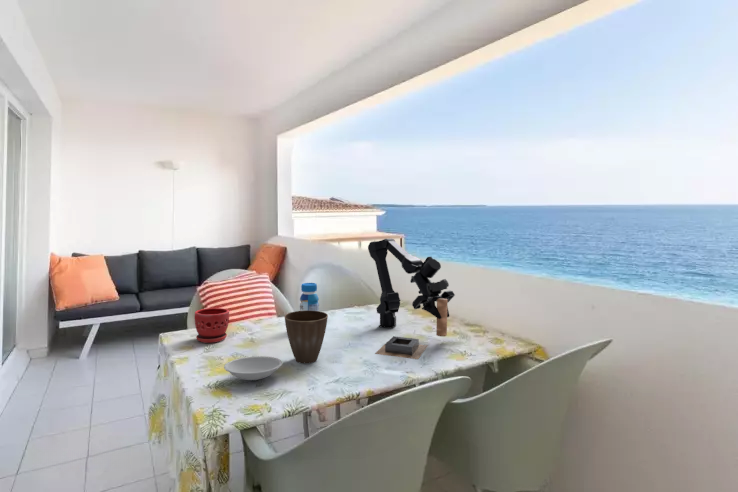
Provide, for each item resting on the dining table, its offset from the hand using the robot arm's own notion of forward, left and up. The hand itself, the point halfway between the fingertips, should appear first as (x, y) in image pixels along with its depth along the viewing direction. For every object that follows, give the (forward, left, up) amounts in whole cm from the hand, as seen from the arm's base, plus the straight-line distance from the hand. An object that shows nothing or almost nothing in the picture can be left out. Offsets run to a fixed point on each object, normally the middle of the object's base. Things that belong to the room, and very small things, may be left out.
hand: (444, 317), depth 164 cm
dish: (-49, -53, -11) cm, 73 cm away
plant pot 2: (-42, -32, -11) cm, 54 cm away
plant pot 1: (-89, -25, -11) cm, 93 cm away
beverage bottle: (-60, +3, -11) cm, 61 cm away
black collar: (-13, -12, -10) cm, 21 cm away
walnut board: (-13, -12, -11) cm, 21 cm away
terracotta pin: (-1, +1, -7) cm, 7 cm away
